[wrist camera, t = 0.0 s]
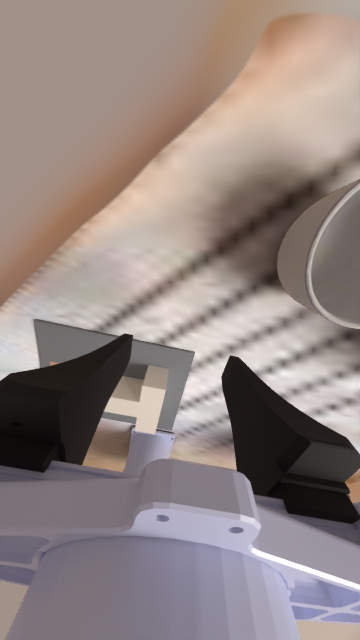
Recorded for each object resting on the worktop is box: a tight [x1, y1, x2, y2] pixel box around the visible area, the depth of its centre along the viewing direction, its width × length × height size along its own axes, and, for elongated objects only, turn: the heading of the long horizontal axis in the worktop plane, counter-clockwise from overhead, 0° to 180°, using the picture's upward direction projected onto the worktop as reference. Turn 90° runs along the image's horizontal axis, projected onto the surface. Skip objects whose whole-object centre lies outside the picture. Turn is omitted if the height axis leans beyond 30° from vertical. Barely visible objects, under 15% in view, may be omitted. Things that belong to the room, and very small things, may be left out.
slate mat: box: [34, 319, 195, 430], centre depth 27 cm, size 17×22×1 cm
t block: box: [104, 365, 169, 435], centre depth 25 cm, size 9×9×4 cm
